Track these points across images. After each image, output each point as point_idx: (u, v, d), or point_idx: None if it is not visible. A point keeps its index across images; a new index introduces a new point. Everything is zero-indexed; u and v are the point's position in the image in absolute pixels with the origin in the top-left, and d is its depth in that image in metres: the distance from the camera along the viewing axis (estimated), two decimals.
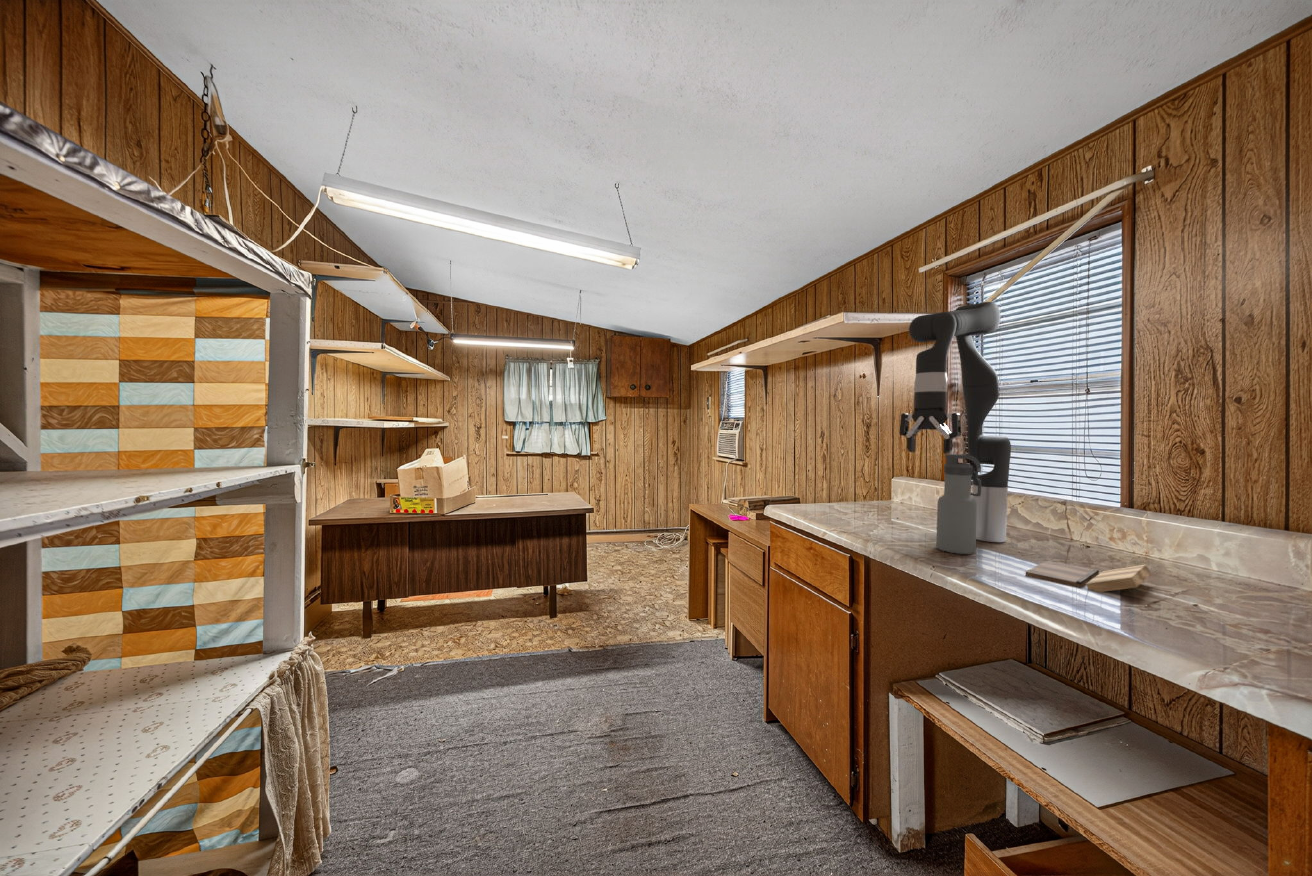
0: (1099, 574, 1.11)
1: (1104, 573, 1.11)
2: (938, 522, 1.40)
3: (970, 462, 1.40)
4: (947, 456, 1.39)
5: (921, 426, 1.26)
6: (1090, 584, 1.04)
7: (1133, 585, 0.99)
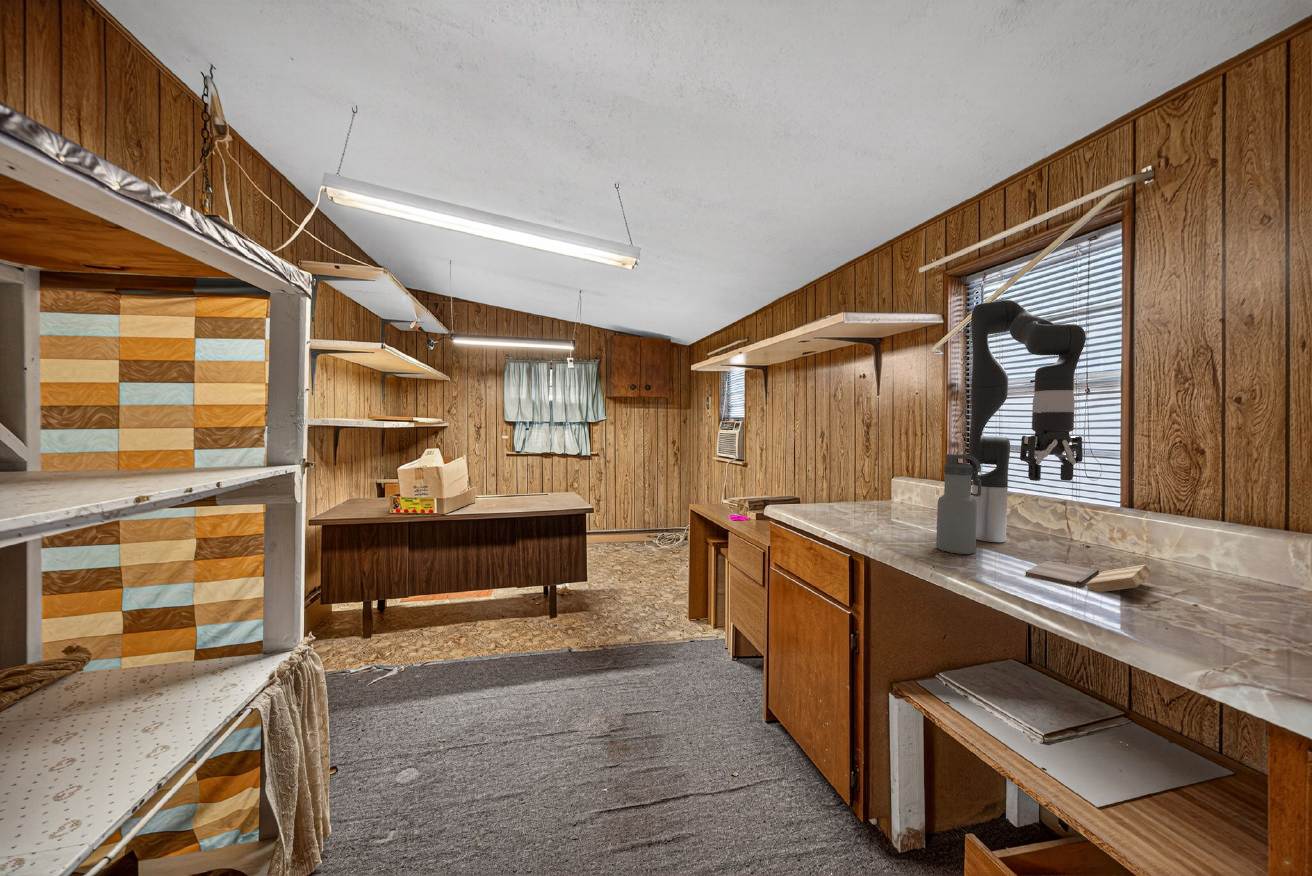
0: (1099, 574, 1.11)
1: (1104, 573, 1.11)
2: (938, 522, 1.40)
3: (970, 462, 1.40)
4: (947, 456, 1.39)
5: None
6: (1090, 584, 1.04)
7: (1133, 585, 0.99)
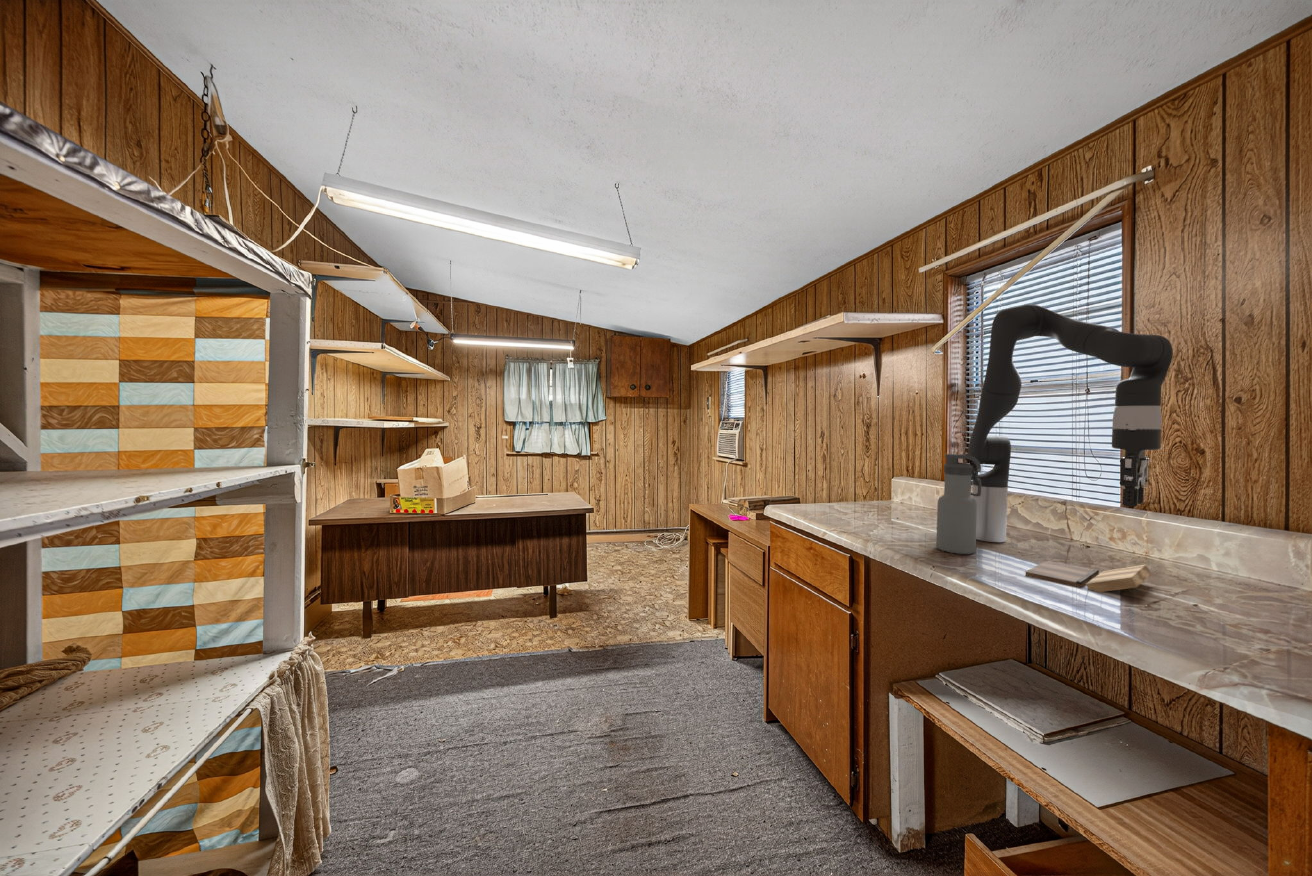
0: (1099, 574, 1.11)
1: (1104, 573, 1.11)
2: (938, 522, 1.40)
3: (970, 462, 1.40)
4: (947, 456, 1.39)
5: None
6: (1090, 584, 1.04)
7: (1133, 585, 0.99)
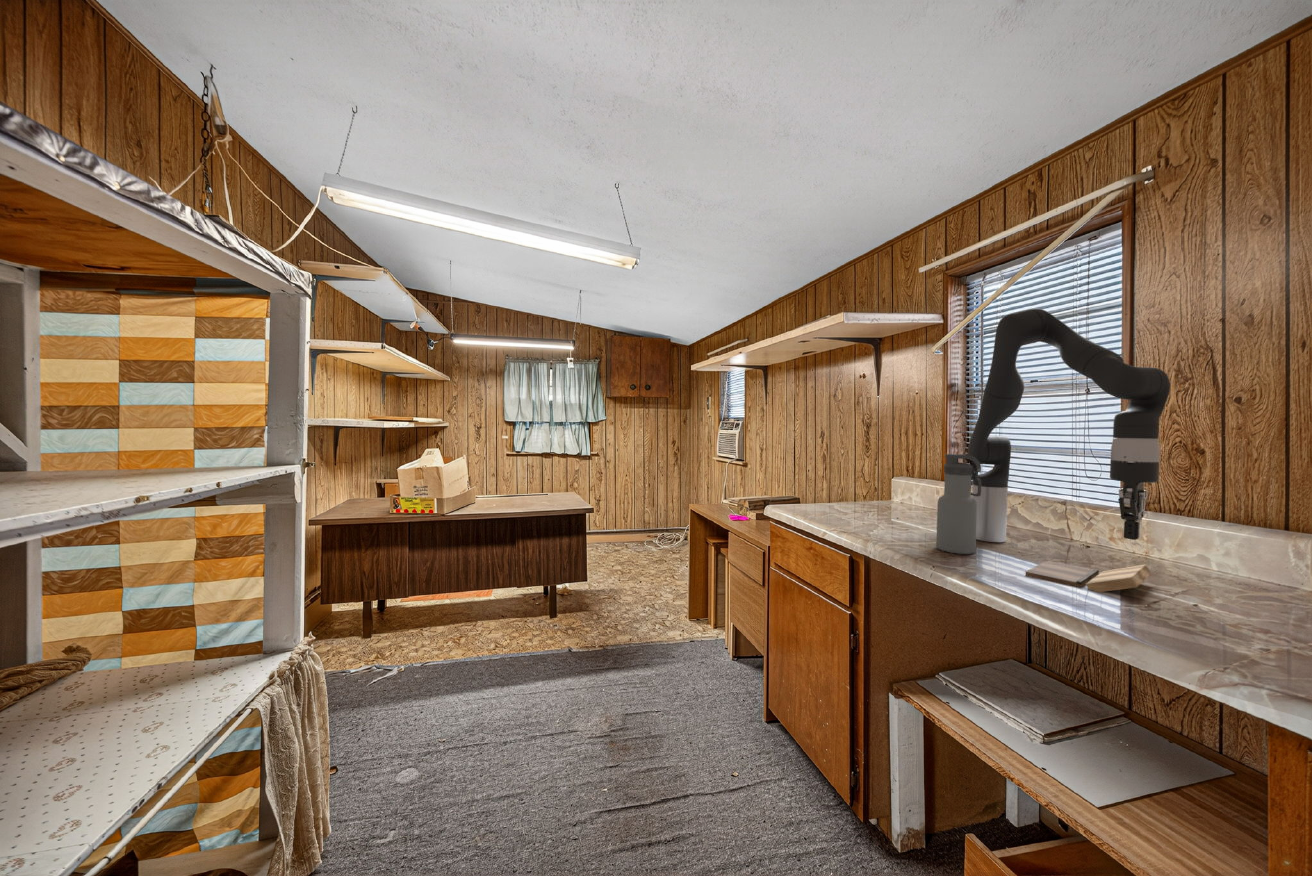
0: (1099, 574, 1.11)
1: (1104, 573, 1.11)
2: (938, 522, 1.40)
3: (970, 462, 1.40)
4: (947, 456, 1.39)
5: None
6: (1090, 584, 1.04)
7: (1133, 585, 0.99)
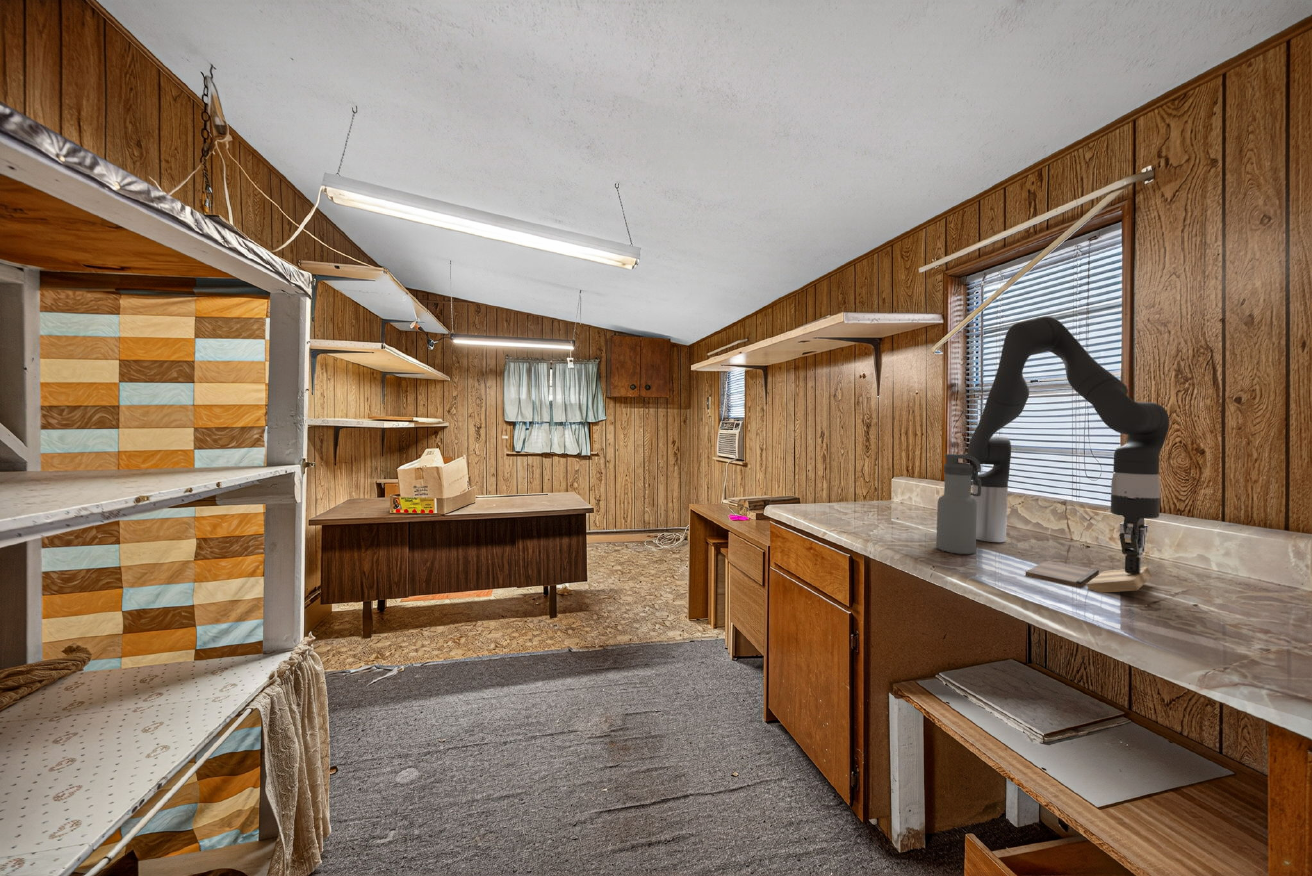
0: (1099, 574, 1.11)
1: (1105, 573, 1.11)
2: (938, 522, 1.40)
3: (970, 462, 1.40)
4: (947, 456, 1.39)
5: None
6: (1090, 584, 1.04)
7: (1134, 588, 0.98)
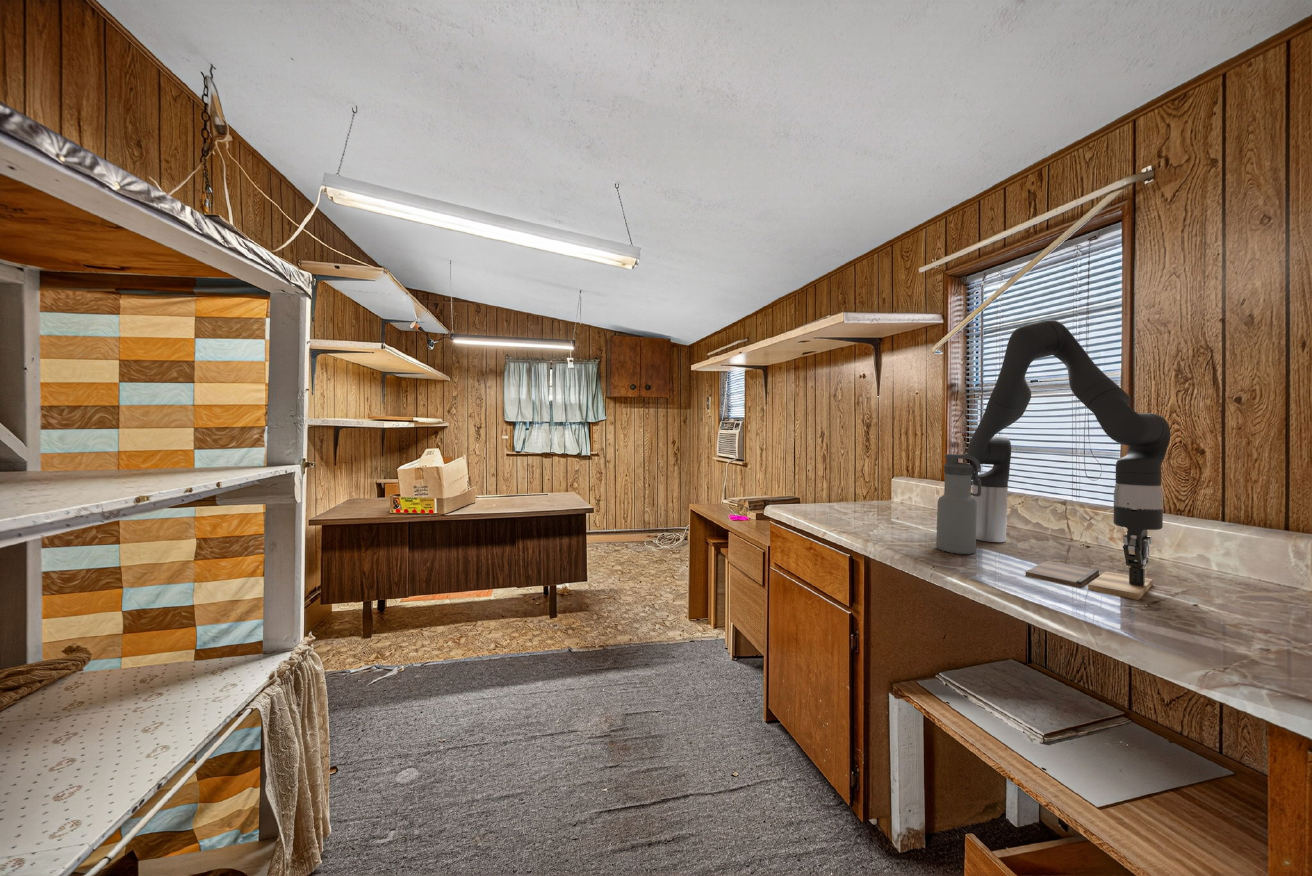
0: (1102, 575, 1.11)
1: (1107, 575, 1.10)
2: (938, 522, 1.40)
3: (970, 462, 1.40)
4: (947, 456, 1.39)
5: None
6: (1092, 586, 1.04)
7: None
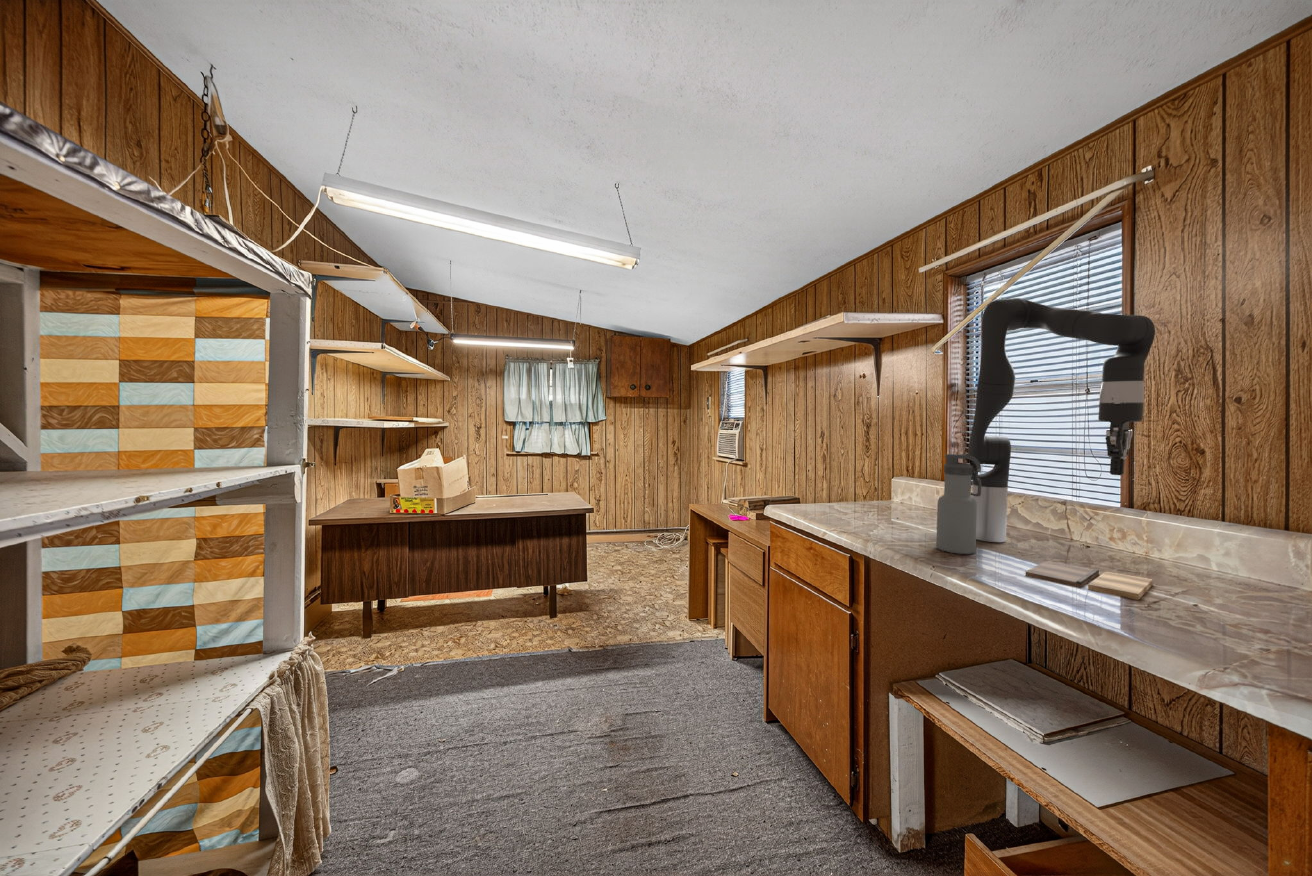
0: (1102, 575, 1.11)
1: (1107, 575, 1.10)
2: (938, 522, 1.40)
3: (970, 462, 1.40)
4: (947, 456, 1.39)
5: None
6: (1092, 586, 1.04)
7: None
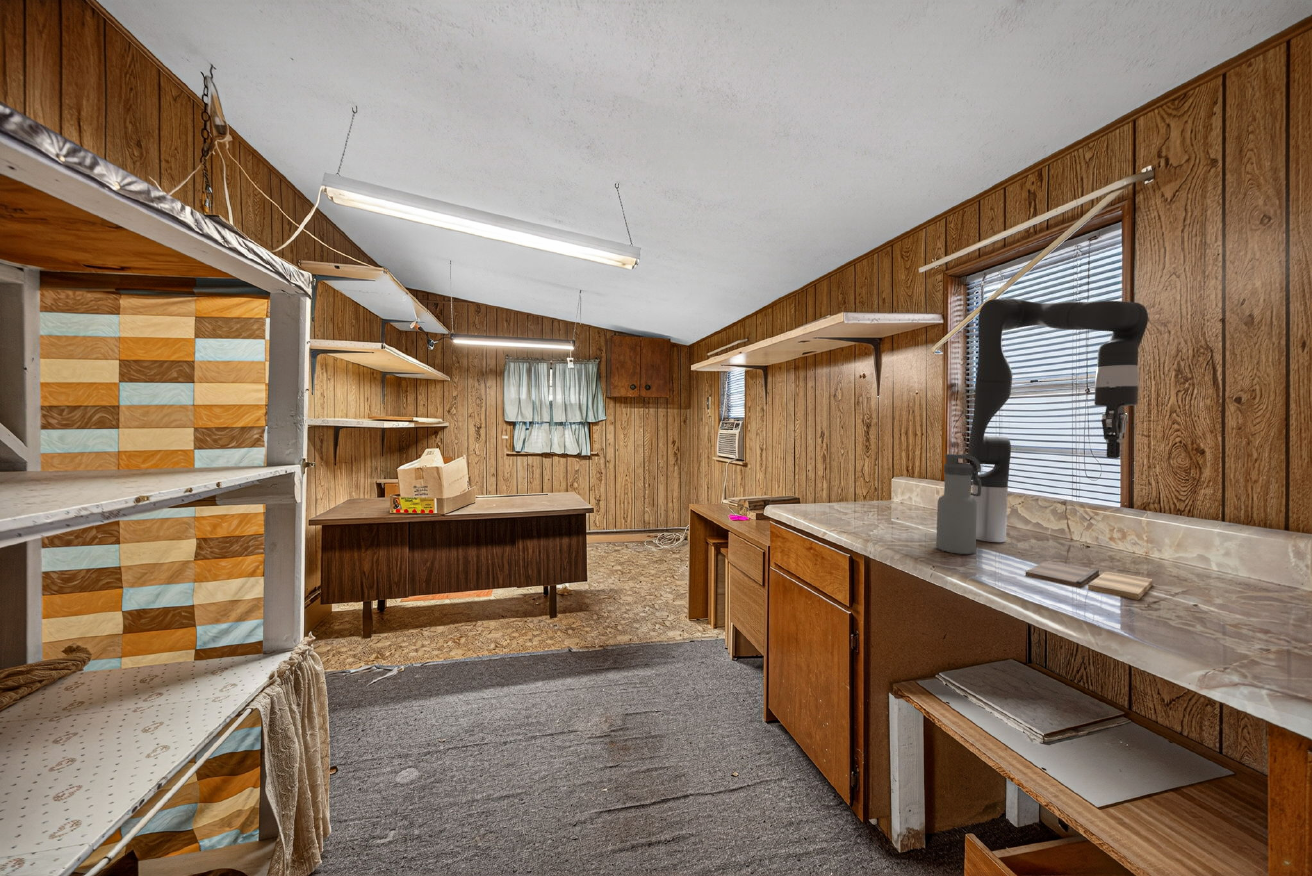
0: (1102, 575, 1.11)
1: (1107, 575, 1.10)
2: (938, 522, 1.40)
3: (970, 462, 1.40)
4: (947, 456, 1.39)
5: None
6: (1092, 586, 1.04)
7: None
